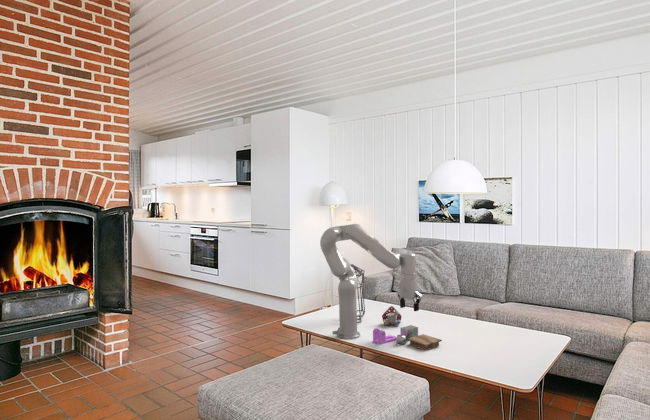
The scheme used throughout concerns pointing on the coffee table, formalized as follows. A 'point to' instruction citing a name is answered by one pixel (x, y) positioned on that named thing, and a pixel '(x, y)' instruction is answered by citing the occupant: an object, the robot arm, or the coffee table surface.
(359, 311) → the geometric lantern
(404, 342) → the knob
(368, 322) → the coffee table surface
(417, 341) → the stand
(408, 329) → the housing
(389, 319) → the brake caliper
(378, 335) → the bracket
